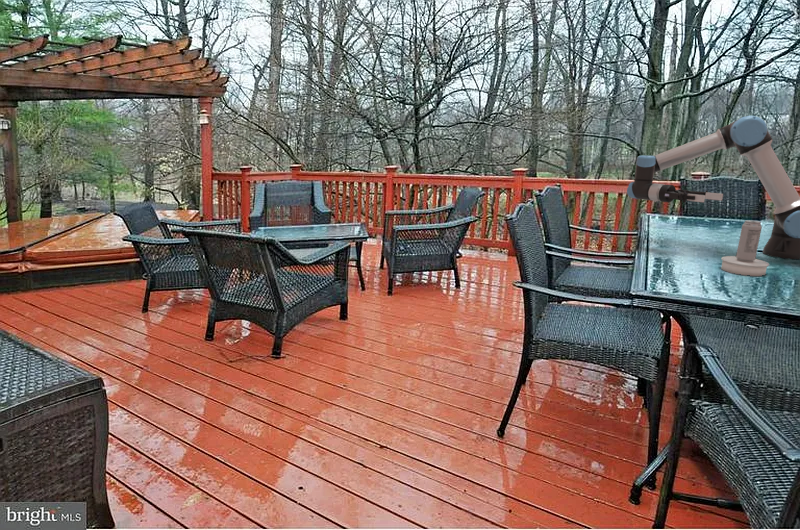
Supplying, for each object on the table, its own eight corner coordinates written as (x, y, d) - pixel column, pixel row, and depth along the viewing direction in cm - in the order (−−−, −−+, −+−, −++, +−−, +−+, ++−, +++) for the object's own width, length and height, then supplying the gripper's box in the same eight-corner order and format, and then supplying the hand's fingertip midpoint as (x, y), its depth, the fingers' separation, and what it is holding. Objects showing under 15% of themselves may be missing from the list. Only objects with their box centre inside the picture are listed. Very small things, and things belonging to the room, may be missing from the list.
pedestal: (752, 267, 197) (754, 257, 196) (776, 277, 183) (778, 266, 182) (712, 265, 199) (714, 255, 198) (732, 275, 184) (734, 264, 183)
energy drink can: (748, 259, 193) (756, 220, 189) (758, 263, 187) (766, 223, 183) (732, 258, 193) (739, 219, 189) (741, 262, 187) (749, 222, 183)
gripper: (677, 200, 226) (727, 205, 209) (644, 203, 214) (694, 209, 196) (680, 183, 225) (730, 187, 207) (646, 185, 212) (697, 189, 194)
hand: (713, 198), depth 202 cm, fingers open, 13 cm apart
